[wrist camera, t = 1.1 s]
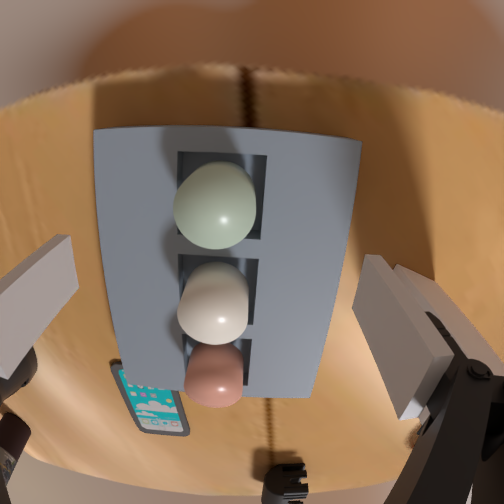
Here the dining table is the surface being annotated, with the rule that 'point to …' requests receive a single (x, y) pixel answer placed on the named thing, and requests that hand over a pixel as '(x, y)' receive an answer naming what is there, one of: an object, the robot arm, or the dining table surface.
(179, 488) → the dining table surface
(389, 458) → the dining table surface
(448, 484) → the robot arm
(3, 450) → the wine bottle
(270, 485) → the end cap
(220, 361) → the button terracotta
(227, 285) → the button cream
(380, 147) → the dining table surface
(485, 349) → the milk
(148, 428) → the smartphone
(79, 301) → the dining table surface
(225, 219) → the button sage
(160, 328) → the console
